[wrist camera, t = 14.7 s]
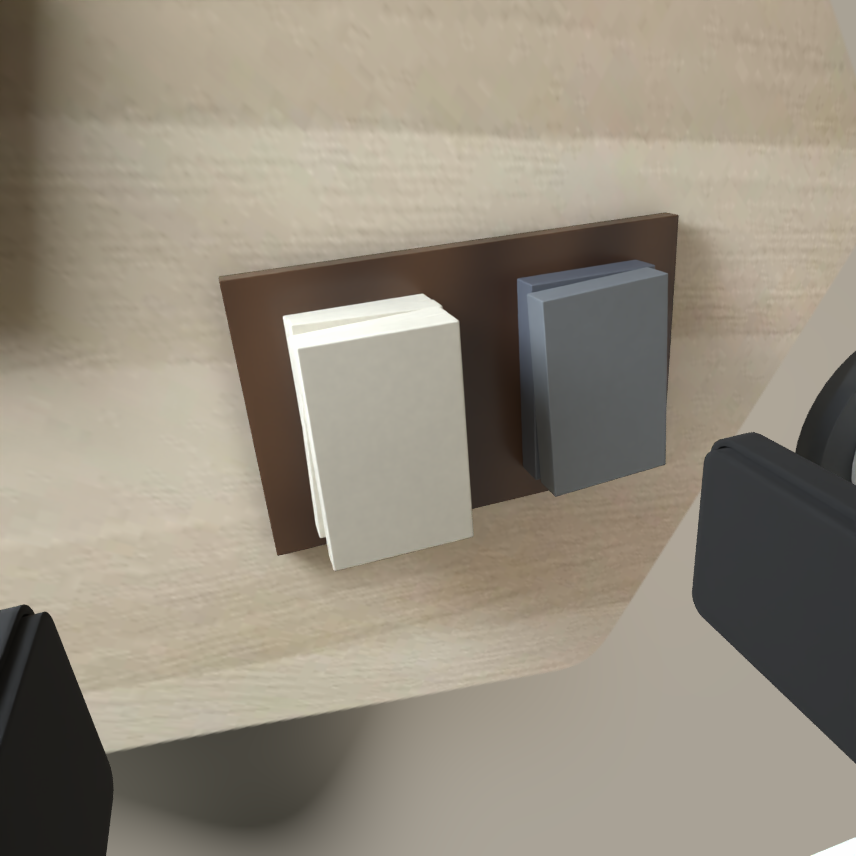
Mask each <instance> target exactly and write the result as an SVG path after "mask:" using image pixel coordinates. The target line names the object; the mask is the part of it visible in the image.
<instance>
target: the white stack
mask: <svg viewBox="0 0 856 856" xmlns="http://www.w3.org/2000/svg"><path fill="white" fill-rule="evenodd" d="M447 313H448V312H446V311H445V310H444V309H443V306H442V305H440V304H439V303H437V302H436V301H435V300H431V299H430V298H429V297H427V296H426V295H424V294H417V295H410V296H404V297H398V298H392V299H385V300H379V301H373V302H367V303H360V304H354V305H348V306H342V307H335V308H329V309H323V310H317V311H310V312H304V313H298V314H292V315H285V316H283V322H284V327H285V333H286V339H287V344H288V350H289V355H290V361H291V367H292V372H293V378H294V384H295V389H296V395H297V401H298V406H299V412H300V417H301V423H302V429H303V436H304V444H305V451H306V458H307V465H308V473H309V480H310V487H311V494H312V502H313V509H314V516H315V523H316V527H317V530H318V534H319V537H320V538H324V537H326V535H325V529H324V523H323V517H322V511H321V506H320V500H319V494H318V488H317V483H316V477H315V471H314V465H313V459H312V454H311V448H310V442H309V436H308V431H307V425H306V419H305V413H304V407H303V402H302V396H301V390H300V384H299V378H298V373H297V367H296V361H295V355H294V350H293V344H292V340H293V339H297V338H303V337H309V336H315V335H321V334H327V333H333V332H339V331H345V330H351V329H357V328H363V327H369V326H375V325H381V324H387V323H393V322H399V321H405V320H411V319H417V318H423V317H429V316H435V315H441V314H447Z"/></svg>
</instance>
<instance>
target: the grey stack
mask: <svg viewBox="0 0 856 856" xmlns="http://www.w3.org/2000/svg"><path fill="white" fill-rule="evenodd" d="M517 296H518V328H519V359H520V390H521V422H522V453H523V467H524V468H525V469H526V470H527V472H528V473H529V474H530V475H531V476H532V477H533V478H534V479H535V480H539V479H541V483H542V484H543V485H544V486H545V487H546V488H547V489H548V490H549V491H550V492H551V493H552V494H553V495H554V496H555V497H557V496H560V495H563V494H567V493H570V492H574V491H577V490H580V489H584V488H587V487H591V486H594V485H597V484H601V483H604V482H608V481H611V480H614V479H618V478H621V477H625V476H628V475H631V474H635V473H638V472H642V471H645V470H648V469H652V468H655V467H659V466H662V465H665V464H666V391H667V318H668V273H665V272H662V271H659V270H655V265H653V264H649V263H646V262H643V261H639V260H630V261H623V262H617V263H611V264H605V265H598V266H592V267H586V268H580V269H573V270H567V271H561V272H555V273H548V274H542V275H536V276H530V277H523V278H518V279H517Z"/></svg>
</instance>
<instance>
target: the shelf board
mask: <svg viewBox="0 0 856 856" xmlns="http://www.w3.org/2000/svg"><path fill="white" fill-rule="evenodd" d="M677 232H678V215H676V214H670V213H659V214H652V215H646V216H639V217H632V218H625V219H618V220H611V221H604V222H597V223H590V224H583V225H576V226H569V227H562V228H555V229H548V230H541V231H534V232H527V233H520V234H513V235H506V236H499V237H492V238H485V239H478V240H471V241H464V242H457V243H450V244H443V245H436V246H429V247H422V248H415V249H408V250H401V251H394V252H387V253H380V254H373V255H366V256H359V257H352V258H345V259H338V260H331V261H324V262H317V263H310V264H303V265H296V266H289V267H282V268H275V269H268V270H261V271H254V272H247V273H241V274H234V275H227V276H220V277H219V282H220V287H221V292H222V296H223V301H224V306H225V311H226V315H227V320H228V325H229V329H230V334H231V339H232V344H233V348H234V353H235V358H236V362H237V367H238V372H239V377H240V381H241V386H242V391H243V396H244V400H245V405H246V410H247V414H248V419H249V424H250V429H251V433H252V438H253V443H254V447H255V452H256V457H257V462H258V466H259V471H260V476H261V480H262V485H263V490H264V495H265V499H266V504H267V509H268V514H269V518H270V523H271V528H272V532H273V537H274V542H275V547H276V551H277V555H278V556H279V555H283V554H287V553H291V552H295V551H299V550H304V549H308V548H312V547H316V546H320V545H324V544H327V540H326V537H324V538H320V537H319V534H318V530H317V527H316V523H315V516H314V509H313V502H312V494H311V487H310V480H309V473H308V465H307V458H306V451H305V444H304V436H303V429H302V423H301V417H300V412H299V406H298V401H297V395H296V389H295V384H294V378H293V372H292V367H291V361H290V355H289V350H288V344H287V339H286V333H285V327H284V322H283V316H285V315H292V314H298V313H304V312H310V311H317V310H323V309H329V308H335V307H342V306H348V305H354V304H360V303H367V302H373V301H379V300H385V299H392V298H398V297H404V296H410V295H417V294H424V295H426V296H427V297H429V298H430V299H431V300H435V301H436V302H437V303H439V304H440V305H442V306H443V309H444V310H445V311H446V312H448V314H450V315H452V316H453V317H455V318H456V319H457V320H459V325H460V340H461V355H462V370H463V385H464V399H465V414H466V429H467V444H468V459H469V474H470V489H471V503H472V509H474V508H478V507H482V506H486V505H490V504H494V503H499V502H503V501H507V500H511V499H515V498H519V497H524V496H528V495H532V494H536V493H540V492H544V491H548V489H547V488H546V487H545V486H544V485H543V484H542V483H541V479H539V480H535V479H534V478H533V477H532V476H531V475H530V474H529V473H528V472H527V470H526V469H525V468H524V467H523V453H522V422H521V390H520V359H519V328H518V296H517V279H518V278H523V277H530V276H536V275H542V274H548V273H555V272H561V271H567V270H573V269H580V268H586V267H592V266H598V265H605V264H611V263H617V262H623V261H630V260H639V261H643V262H646V263H649V264H653V265H655V270H659V271H662V272H665V273H668V318H667V390H668V374H669V359H670V343H671V327H672V311H673V295H674V280H675V264H676V248H677ZM666 406H667V391H666Z"/></svg>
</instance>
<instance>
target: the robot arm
mask: <svg viewBox="0 0 856 856" xmlns="http://www.w3.org/2000/svg"><path fill="white" fill-rule="evenodd" d="M692 597H693V602H694V604H695V607H696V609H697V610H698V612H699V614H700V615H701V616H702V617H703V618H704V619H705V620H706V621H707V622H708V623H709V624H710V625H711V626H712V627H713V628H714V629H715V630H716V631H718V632H719V633H720V634H721V635H722V636H723V637H724V638H725V639H726V640H727V641H728V642H729V643H730V644H731V645H732V646H733V647H735V649H736V650H737V651H738V652H739V653H741V654H742V655H743V656H744V657H745V658H746V659H747V660H748V661H749V662H750V663H751V664H752V665H753V666H754V667H755V668H756V669H757V670H758V671H759V672H760V673H761V674H763V675H764V676H765V677H766V678H767V679H768V680H769V681H770V682H771V683H772V684H773V685H774V686H775V687H776V688H777V689H778V690H779V691H780V692H781V693H783V695H784V696H786V697H787V698H788V699H789V700H790V701H791V702H792V703H793V704H794V705H795V706H796V707H797V708H798V709H799V710H800V711H801V712H802V713H803V714H804V715H805V716H806V717H807V718H809V719H810V720H811V721H812V722H813V723H814V724H815V725H816V726H817V727H818V728H819V729H820V730H821V731H822V732H823V733H824V734H825V735H826V736H828V738H829V739H831V740H832V741H833V742H834V743H835V744H836V745H837V746H838V747H839V748H840V749H841V750H842V751H843V752H844V753H845V754H846V755H847V756H848V757H849V758H850V759H852V761H854V762H855V763H856V451H855V455H854V460H853V464H852V483H850V482H849V481H847V480H845V479H843V478H841V477H839V476H837V475H835V474H834V473H832V472H830V471H828V470H826V469H824V468H822V467H821V466H819V465H817V464H815V463H813V462H811V461H809V460H807V459H806V458H804V457H802V456H800V455H798V454H796V453H794V452H792V451H791V450H789V449H787V448H785V447H783V446H781V445H779V444H778V443H776V442H774V441H772V440H770V439H768V438H766V437H764V436H763V435H761V434H758V433H755V432H753V433H746V434H741V435H737V436H733V437H729V438H724V439H720V440H718V441H717V442H715V443H714V445H713V447H712V449H711V452H709V453H708V454H707V455H706V457H705V460H704V467H703V478H702V489H701V500H700V511H699V522H698V534H697V545H696V555H695V566H694V577H693V588H692ZM112 802H113V777H112V772H111V767H110V764H109V761H108V759H107V756H106V754H105V751H104V749H103V746H102V744H101V741H100V738H99V736H98V733H97V731H96V728H95V726H94V723H93V721H92V718H91V716H90V713H89V710H88V708H87V705H86V703H85V700H84V698H83V695H82V693H81V690H80V688H79V685H78V683H77V680H76V677H75V675H74V672H73V670H72V667H71V665H70V662H69V660H68V657H67V655H66V652H65V649H64V647H63V644H62V642H61V639H60V637H59V634H58V632H57V629H56V627H55V624H54V621H53V619H52V617H51V616H50V615H49V613H47V612H42V613H38V614H34V612H33V610H32V609H31V608H30V607H29V606H27V605H25V604H24V605H20V606H16V607H12V608H8V609H3V610H0V856H106V851H107V843H108V835H109V826H110V818H111V810H112ZM812 856H856V837H855V838H853V839H850V840H848V841H846V842H843V843H841V844H838V845H836V846H834V847H831V848H829V849H826V850H824V851H821V852H819V853H816V854H814V855H812Z"/></svg>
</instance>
